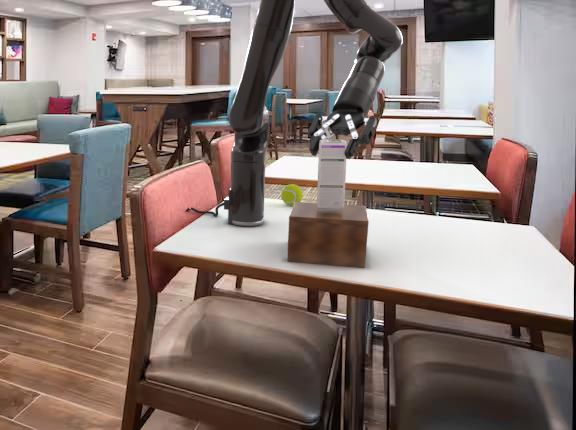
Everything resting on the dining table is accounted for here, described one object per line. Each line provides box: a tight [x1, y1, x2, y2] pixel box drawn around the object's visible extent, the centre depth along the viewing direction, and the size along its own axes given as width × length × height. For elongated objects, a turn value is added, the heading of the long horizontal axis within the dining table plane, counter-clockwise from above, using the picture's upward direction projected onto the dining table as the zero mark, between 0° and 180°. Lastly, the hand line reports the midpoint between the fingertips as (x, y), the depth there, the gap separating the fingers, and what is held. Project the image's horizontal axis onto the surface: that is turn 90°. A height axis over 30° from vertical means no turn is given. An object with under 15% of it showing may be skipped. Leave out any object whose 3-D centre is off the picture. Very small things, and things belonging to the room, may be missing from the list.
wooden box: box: [286, 201, 369, 269], centre depth 120 cm, size 16×15×10 cm
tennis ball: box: [280, 183, 304, 207], centre depth 169 cm, size 7×7×7 cm
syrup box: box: [316, 138, 348, 210], centre depth 117 cm, size 6×6×14 cm
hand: (329, 154), depth 115 cm, fingers closed on syrup box, 7 cm apart
